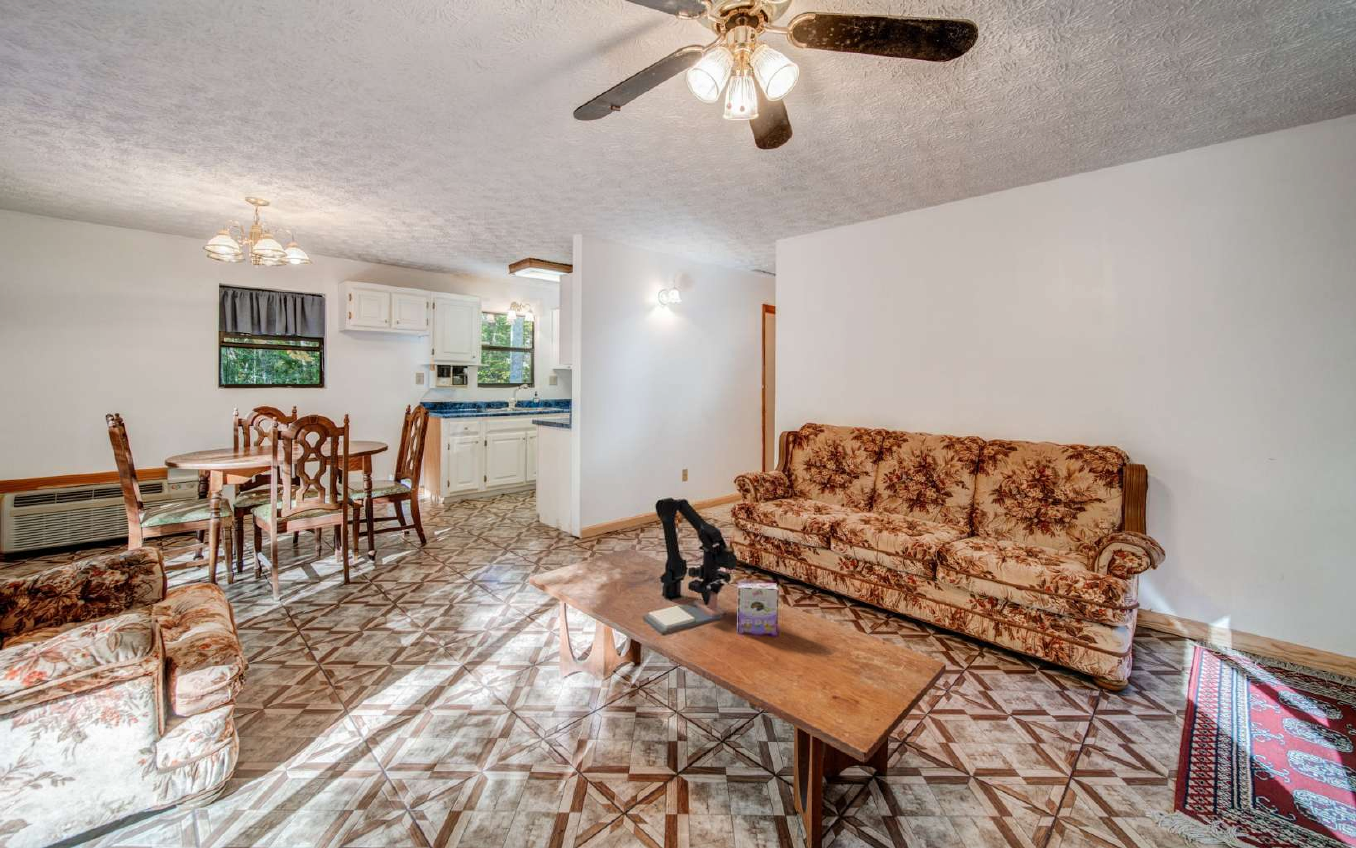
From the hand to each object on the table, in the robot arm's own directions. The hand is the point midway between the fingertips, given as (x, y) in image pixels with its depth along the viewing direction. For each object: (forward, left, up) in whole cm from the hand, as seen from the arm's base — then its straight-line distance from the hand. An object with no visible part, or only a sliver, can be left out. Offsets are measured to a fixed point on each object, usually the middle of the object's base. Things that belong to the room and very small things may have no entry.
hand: (709, 603), depth 197 cm
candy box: (-5, +21, -3) cm, 22 cm away
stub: (0, 0, -2) cm, 2 cm away
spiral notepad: (+16, 0, -2) cm, 17 cm away
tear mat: (+12, 0, -3) cm, 12 cm away
